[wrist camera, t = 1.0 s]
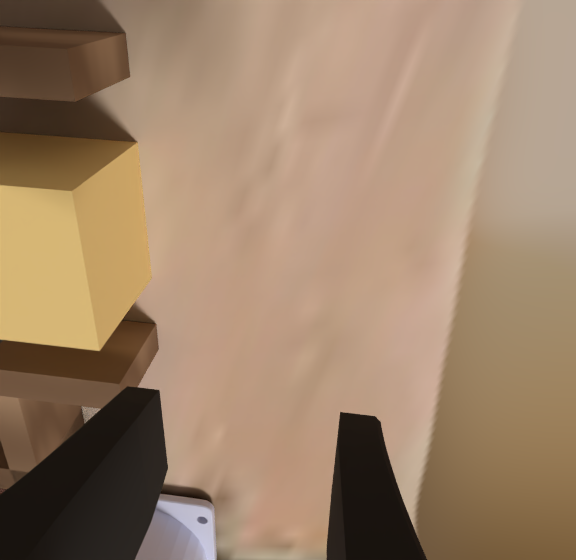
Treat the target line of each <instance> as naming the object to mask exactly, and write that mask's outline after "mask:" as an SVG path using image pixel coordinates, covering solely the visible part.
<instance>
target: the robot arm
mask: <svg viewBox="0 0 576 560" xmlns="http://www.w3.org/2000/svg"><path fill="white" fill-rule="evenodd" d="M167 470H168V465H167V456H166V447H165V437H164V428H163V419H162V410H161V401H160V392H159V390H154V389H146V388H138V387H129V386H127V387H126V388H125V389H123V390H122V391H121V392H120V393H119V394H117V395H116V396H115V397H114V398H113V399H112V400H111V401H110V402H108V403H107V404H106V405H105V406H104V407H103V408H102V409H101V410H100V411H98V412H97V413H96V414H95V415H94V416H93V417H92V418H91V419H89V420H88V421H87V422H86V423H85V424H84V425H83V426H82V427H81V428H79V429H78V430H77V431H76V432H75V433H74V434H73V435H71V436H70V437H69V438H68V439H67V440H66V441H65V442H64V443H62V444H61V445H60V446H59V447H58V448H56V449H55V450H54V451H53V452H52V453H51V454H49V455H48V456H47V457H46V458H45V459H44V460H42V461H41V462H40V463H39V464H38V465H37V466H35V467H34V468H33V469H32V470H31V471H29V472H28V473H27V474H26V475H25V476H23V477H22V478H21V479H20V480H18V481H17V482H16V483H15V484H13V485H12V486H11V487H10V488H8V489H7V490H6V491H4V492H3V493H2V494H1V495H0V560H217V553H216V534H215V514H214V506H213V505H212V504H211V503H210V502H209V501H207V500H203V499H196V498H189V497H181V496H174V495H167V494H160V493H161V490H162V486H163V483H164V480H165V476H166V473H167ZM327 560H427V559H426V556H425V554H424V552H423V549H422V547H421V545H420V542H419V540H418V538H417V535H416V533H415V530H414V527H413V525H412V522H411V520H410V517H409V515H408V512H407V510H406V507H405V505H404V502H403V499H402V496H401V494H400V491H399V488H398V485H397V482H396V479H395V476H394V473H393V470H392V467H391V464H390V460H389V457H388V453H387V450H386V446H385V442H384V437H383V433H382V428H381V422H380V421H379V420H378V419H377V418H376V417H375V416H368V415H360V414H351V413H343V412H340V420H339V429H338V438H337V447H336V456H335V465H334V474H333V484H332V493H331V505H330V516H329V528H328V539H327Z"/></svg>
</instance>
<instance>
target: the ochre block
mask: <svg viewBox="0 0 576 560" xmlns="http://www.w3.org/2000/svg"><path fill="white" fill-rule="evenodd" d="M151 278H152V275H151V266H150V256H149V247H148V237H147V228H146V218H145V209H144V199H143V190H142V180H141V170H140V161H139V151H138V142H127V141H114V140H100V139H87V138H73V137H60V136H47V135H33V134H20V133H6V132H0V339H1V340H9V341H18V342H26V343H35V344H44V345H52V346H61V347H70V348H78V349H87V350H95V351H100V350H101V348H102V347H103V346H104V344H105V343H106V341H107V340H108V339H109V337H110V336H111V334H112V333H113V332H114V330H115V329H116V327H117V326H118V325H119V323H120V322H121V320H122V319H123V318H124V316H125V315H126V313H127V312H128V311H129V309H130V308H131V306H132V305H133V304H134V302H135V301H136V299H137V298H138V297H139V295H140V294H141V292H142V291H143V290H144V288H145V287H146V285H147V284H148V283H149V281H150V280H151Z"/></svg>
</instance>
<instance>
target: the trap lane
mask: <svg viewBox="0 0 576 560" xmlns="http://www.w3.org/2000/svg"><path fill="white" fill-rule="evenodd" d="M128 77H130V72H129V62H128V53H127V43H126V34H125V33H113V32H95V31H76V30H58V29H40V28H21V27H3V26H0V97H13V98H28V99H43V100H57V101H72V102H76V101H78V100H80V99H82V98H85V97H87V96H89V95H91V94H93V93H96V92H98V91H100V90H102V89H104V88H107V87H109V86H111V85H113V84H115V83H117V82H120V81H122V80H124V79H126V78H128ZM158 350H159V348H158V338H157V329H156V324H151V323H142V322H133V321H123V320H121V322H120V323H119V325H118V326H117V327H116V329H115V330H114V332H113V333H112V334H111V336H110V337H109V339H108V340H107V341H106V343H105V344H104V346H103V347H102V348H101V350H100V351H95V350H87V349H78V348H70V347H61V346H52V345H44V344H35V343H26V342H18V341H9V340H1V339H0V488H2V489H8V488H10V487H11V486H12V485H13V484H15V483H16V482H17V481H18V480H20V479H21V478H22V477H23V476H25V475H26V474H27V473H28V472H29V471H31V470H32V469H33V468H34V467H35V466H37V465H38V464H39V463H40V462H41V461H42V460H44V459H45V458H46V457H47V456H48V455H49V454H51V453H52V452H53V451H54V450H55V449H56V448H58V447H59V446H60V445H61V444H62V443H64V442H65V441H66V440H67V439H68V438H69V437H70V436H71V435H73V434H74V433H75V432H76V431H77V430H78V429H79V428H81V427H82V426H83V425H84V419H83V414H82V409H81V406H85V407H93V408H100V409H102V408H103V407H104V406H105V405H106V404H107V403H108V402H110V401H111V400H112V399H113V398H114V397H115V396H116V395H117V394H119V393H120V392H121V391H122V390H123V389H125V388H126V387H127V386H129V387H138V385H139V383H140V382H141V380H142V378H143V376H144V374H145V373H146V371H147V369H148V367H149V366H150V364H151V362H152V360H153V358H154V357H155V355H156V353H157V351H158Z"/></svg>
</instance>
